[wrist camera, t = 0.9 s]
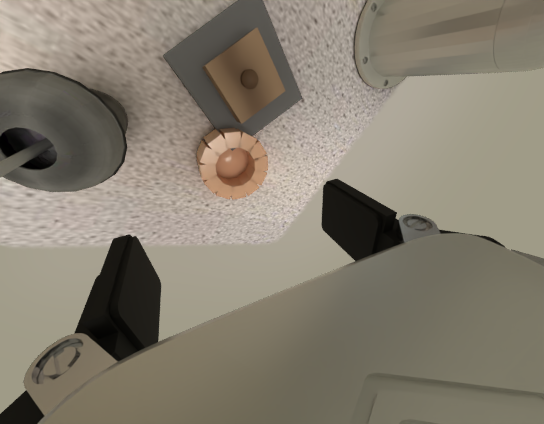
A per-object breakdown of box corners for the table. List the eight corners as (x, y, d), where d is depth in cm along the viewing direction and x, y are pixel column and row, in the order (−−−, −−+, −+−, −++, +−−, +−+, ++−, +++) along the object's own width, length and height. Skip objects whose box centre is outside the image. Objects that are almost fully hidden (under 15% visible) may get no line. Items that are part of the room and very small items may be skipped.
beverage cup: (157, 121, 25) (137, 181, 9) (112, 163, 26) (18, 292, 10) (91, 58, 21) (-160, -33, 5) (37, 109, 21) (-367, 183, 5)
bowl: (235, 113, 28) (244, 116, 25) (267, 164, 33) (278, 173, 30) (182, 153, 28) (184, 161, 25) (223, 198, 33) (229, 210, 30)
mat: (253, -11, 23) (257, -14, 22) (298, 97, 30) (302, 98, 30) (163, 56, 23) (163, 55, 22) (230, 149, 30) (232, 151, 29)
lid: (250, 31, 24) (259, 25, 21) (277, 90, 28) (287, 90, 25) (202, 67, 24) (205, 65, 21) (236, 121, 28) (243, 124, 25)
